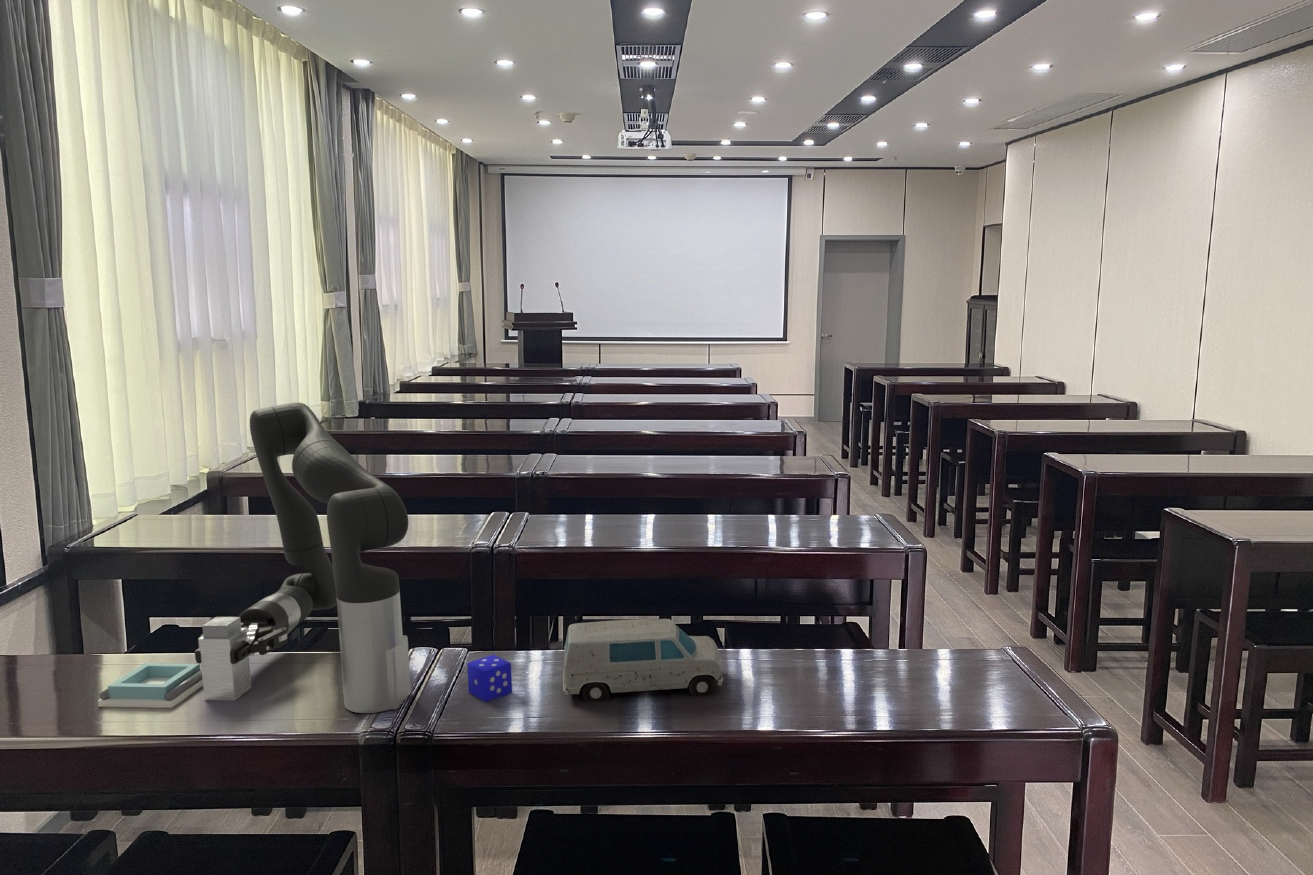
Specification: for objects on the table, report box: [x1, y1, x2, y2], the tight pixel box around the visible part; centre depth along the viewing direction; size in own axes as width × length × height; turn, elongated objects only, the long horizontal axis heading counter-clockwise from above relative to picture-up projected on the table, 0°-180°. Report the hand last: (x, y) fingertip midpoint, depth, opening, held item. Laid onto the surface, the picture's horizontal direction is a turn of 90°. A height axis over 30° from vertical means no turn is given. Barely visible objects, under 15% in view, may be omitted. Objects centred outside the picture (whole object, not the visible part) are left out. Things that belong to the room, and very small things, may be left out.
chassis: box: [97, 662, 203, 709], centre depth 150 cm, size 12×11×3 cm
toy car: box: [562, 618, 724, 703], centre depth 148 cm, size 11×25×10 cm, turn 95°
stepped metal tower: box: [198, 616, 252, 702], centre depth 149 cm, size 5×5×12 cm
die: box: [466, 654, 513, 702], centre depth 147 cm, size 5×5×5 cm
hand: (215, 657), depth 146 cm, fingers closed on stepped metal tower, 5 cm apart
